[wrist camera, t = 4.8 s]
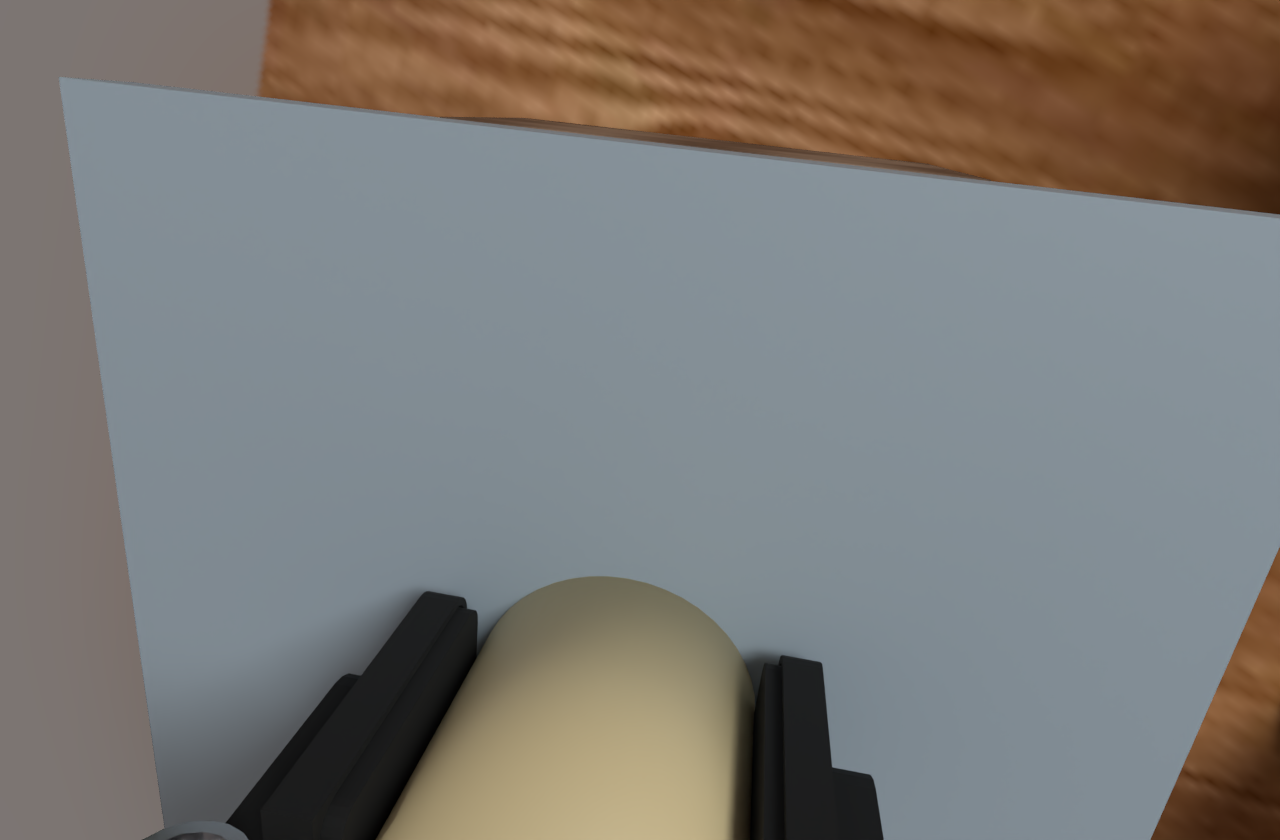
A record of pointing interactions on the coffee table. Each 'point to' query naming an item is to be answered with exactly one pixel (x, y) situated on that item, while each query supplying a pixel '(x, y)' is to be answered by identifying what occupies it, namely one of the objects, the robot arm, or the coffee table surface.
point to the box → (723, 145)
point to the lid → (673, 462)
